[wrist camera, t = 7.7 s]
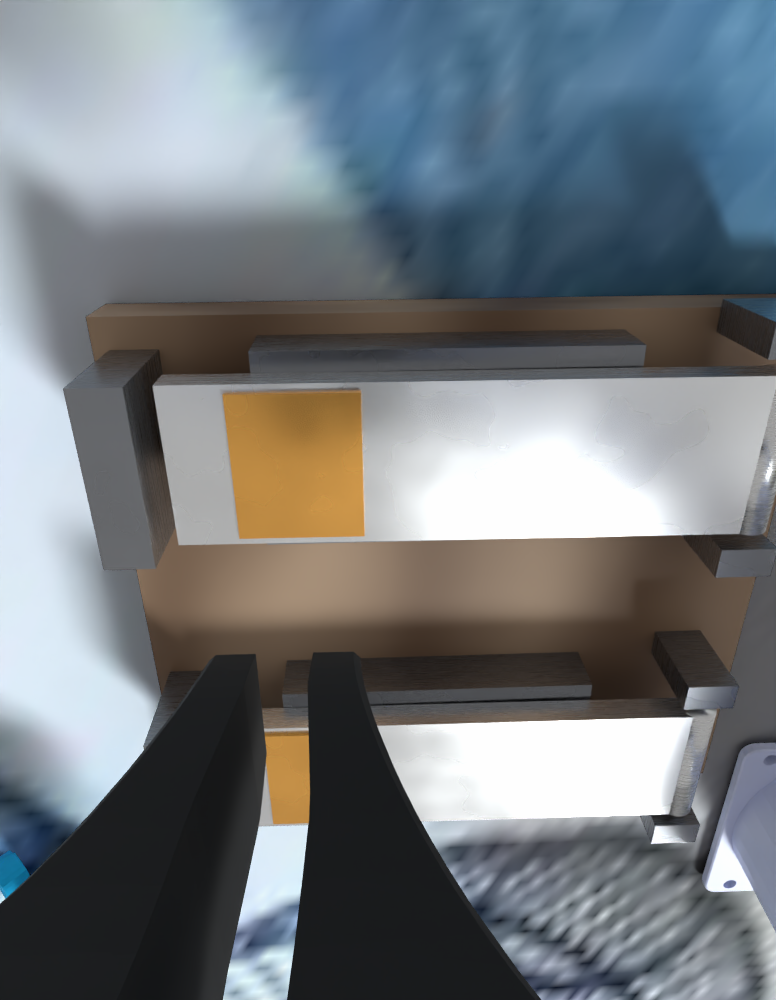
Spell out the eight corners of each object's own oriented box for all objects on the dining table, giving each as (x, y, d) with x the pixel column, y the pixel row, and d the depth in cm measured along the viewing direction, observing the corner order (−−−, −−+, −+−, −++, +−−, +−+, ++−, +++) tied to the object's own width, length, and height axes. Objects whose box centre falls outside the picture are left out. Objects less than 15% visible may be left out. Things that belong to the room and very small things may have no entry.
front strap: (793, 363, 16) (817, 377, 15) (753, 515, 18) (773, 535, 17) (162, 373, 16) (151, 387, 15) (187, 527, 18) (177, 547, 17)
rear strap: (707, 694, 21) (722, 719, 20) (682, 789, 23) (696, 816, 22) (215, 707, 21) (208, 732, 20) (230, 803, 22) (224, 830, 22)
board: (795, 293, 19) (829, 305, 17) (684, 740, 26) (702, 773, 25) (105, 304, 18) (85, 317, 17) (190, 756, 25) (180, 791, 24)
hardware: (779, 297, 17) (856, 327, 15) (664, 778, 25) (702, 856, 22) (101, 308, 17) (52, 340, 14) (193, 794, 24) (172, 876, 22)
